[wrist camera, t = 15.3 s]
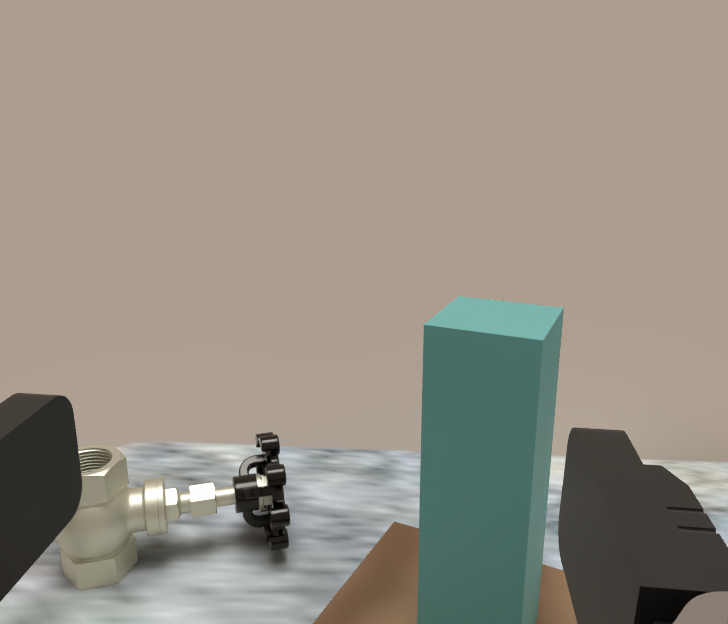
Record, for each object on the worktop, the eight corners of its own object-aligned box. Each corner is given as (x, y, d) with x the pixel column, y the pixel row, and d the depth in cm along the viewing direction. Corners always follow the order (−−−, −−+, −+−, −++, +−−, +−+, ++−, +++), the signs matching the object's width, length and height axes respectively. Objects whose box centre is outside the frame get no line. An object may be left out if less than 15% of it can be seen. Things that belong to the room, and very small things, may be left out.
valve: (50, 618, 33) (292, 574, 36) (30, 500, 31) (288, 464, 35) (67, 539, 39) (274, 507, 43) (52, 436, 38) (269, 410, 41)
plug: (416, 650, 30) (423, 324, 25) (447, 588, 34) (458, 296, 29) (516, 684, 28) (543, 340, 24) (537, 615, 32) (563, 308, 28)
